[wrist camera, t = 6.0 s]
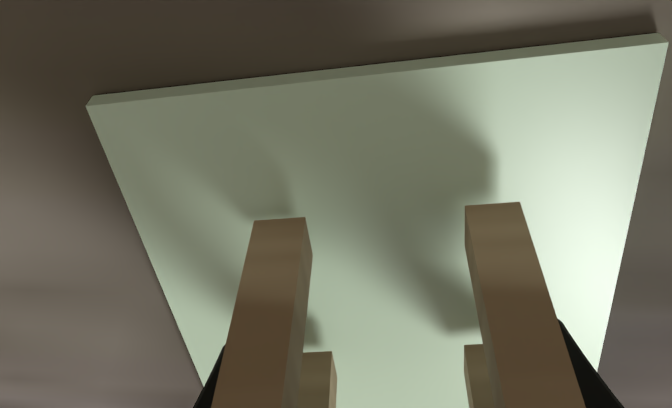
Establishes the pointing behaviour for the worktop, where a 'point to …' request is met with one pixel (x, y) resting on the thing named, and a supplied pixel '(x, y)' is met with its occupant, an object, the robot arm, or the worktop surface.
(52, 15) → the worktop surface
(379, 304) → the mat
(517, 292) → the stool
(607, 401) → the robot arm
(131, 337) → the worktop surface
